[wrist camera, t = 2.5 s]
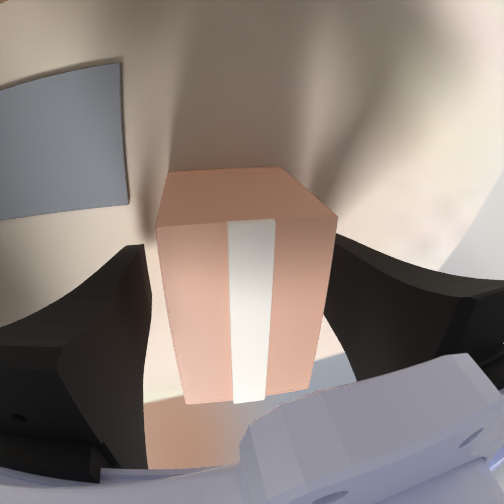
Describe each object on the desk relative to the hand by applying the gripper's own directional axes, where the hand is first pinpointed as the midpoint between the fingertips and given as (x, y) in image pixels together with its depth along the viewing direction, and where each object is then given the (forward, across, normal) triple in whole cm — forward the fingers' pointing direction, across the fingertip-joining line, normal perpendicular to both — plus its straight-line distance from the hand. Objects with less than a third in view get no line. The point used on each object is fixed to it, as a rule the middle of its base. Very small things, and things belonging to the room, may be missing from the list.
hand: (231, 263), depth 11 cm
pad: (+1, +7, -4) cm, 8 cm away
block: (+2, 0, 0) cm, 2 cm away
